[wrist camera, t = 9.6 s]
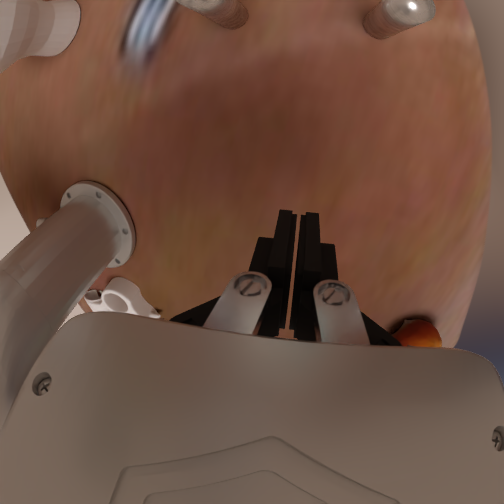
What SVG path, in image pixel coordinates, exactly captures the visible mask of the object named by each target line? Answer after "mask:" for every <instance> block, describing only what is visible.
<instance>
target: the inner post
mask: <svg viewBox="0 0 504 504" xmlns="http://www.w3.org/2000/svg"><path fill="white" fill-rule="evenodd" d="M176 1H177V2H178V3H179V4H181V5H183V6H185V7H187V8H190V9H192V10H194V11H195V12H197V13H199V14H201V15H203V16H205V17H207V18H209V19H211V20H212V21H214V22H216V23H218V24H220V25H221V26H223V27H225V28H228V29H236V28H239V27H241V26H243V25H244V24H245V23H246V21H247V19H248V12H247V10H246V8H245V7H244V6H243V5H242V4H241V3H240V2H239V1H238V0H176Z"/></svg>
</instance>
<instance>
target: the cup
mask: <svg viewBox="0 0 504 504" xmlns="http://www.w3.org/2000/svg"><path fill="white" fill-rule="evenodd" d="M79 22H80V8H79V5H78V3H77V2H76V1H75V0H52V1H43V0H0V73H2V72H3V71H4V70H6V69H7V68H8V67H9V66H11V65H12V64H13V63H14V62H16V61H17V60H19V59H22V58H25V57H28V56H31V55H32V56H56V55H58V54H59V53H61V52H62V51H63V50H65V49H66V48H67V46H68V45H69V44H70V43H71V41H72V39H73V38H74V36H75V34H76V31H77V29H78V26H79Z"/></svg>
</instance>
